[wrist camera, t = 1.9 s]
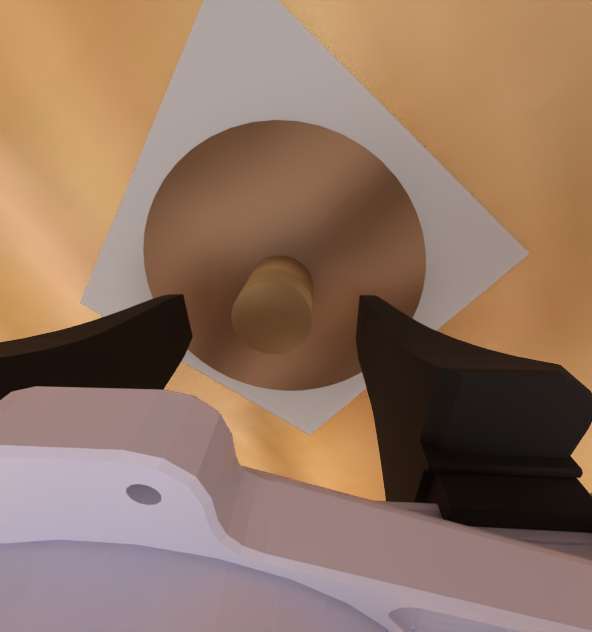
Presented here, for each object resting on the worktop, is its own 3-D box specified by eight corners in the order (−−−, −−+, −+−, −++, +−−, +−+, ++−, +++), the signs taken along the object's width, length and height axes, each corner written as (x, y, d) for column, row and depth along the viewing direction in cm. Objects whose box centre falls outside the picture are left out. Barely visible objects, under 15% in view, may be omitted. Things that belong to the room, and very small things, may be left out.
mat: (524, 251, 14) (529, 253, 14) (309, 430, 21) (309, 435, 21) (228, -46, 10) (225, -54, 10) (84, 300, 17) (80, 302, 17)
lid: (482, 258, 14) (545, 295, 10) (306, 414, 20) (303, 475, 16) (239, 31, 11) (194, -42, 7) (113, 299, 16) (51, 341, 13)
